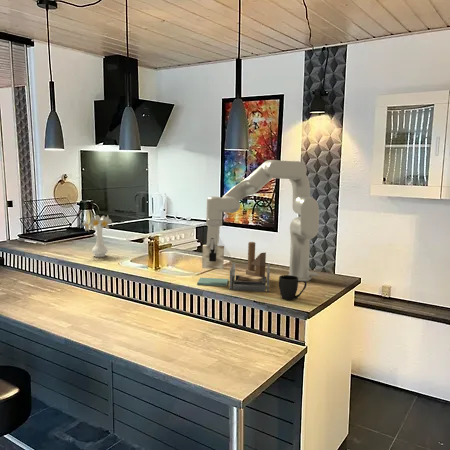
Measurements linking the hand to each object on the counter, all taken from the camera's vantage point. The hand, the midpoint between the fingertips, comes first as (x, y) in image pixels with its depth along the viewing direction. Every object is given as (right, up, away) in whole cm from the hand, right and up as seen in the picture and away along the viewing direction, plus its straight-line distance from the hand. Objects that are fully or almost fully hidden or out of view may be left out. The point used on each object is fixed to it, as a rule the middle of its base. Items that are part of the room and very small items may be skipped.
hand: (212, 260), depth 214 cm
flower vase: (-70, -2, +54) cm, 89 cm away
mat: (0, -11, +2) cm, 11 cm away
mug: (+35, -15, -22) cm, 44 cm away
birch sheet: (0, -4, +1) cm, 4 cm away
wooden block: (+21, -10, +13) cm, 27 cm away
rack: (+18, -12, -2) cm, 22 cm away
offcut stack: (+18, -12, +2) cm, 22 cm away
